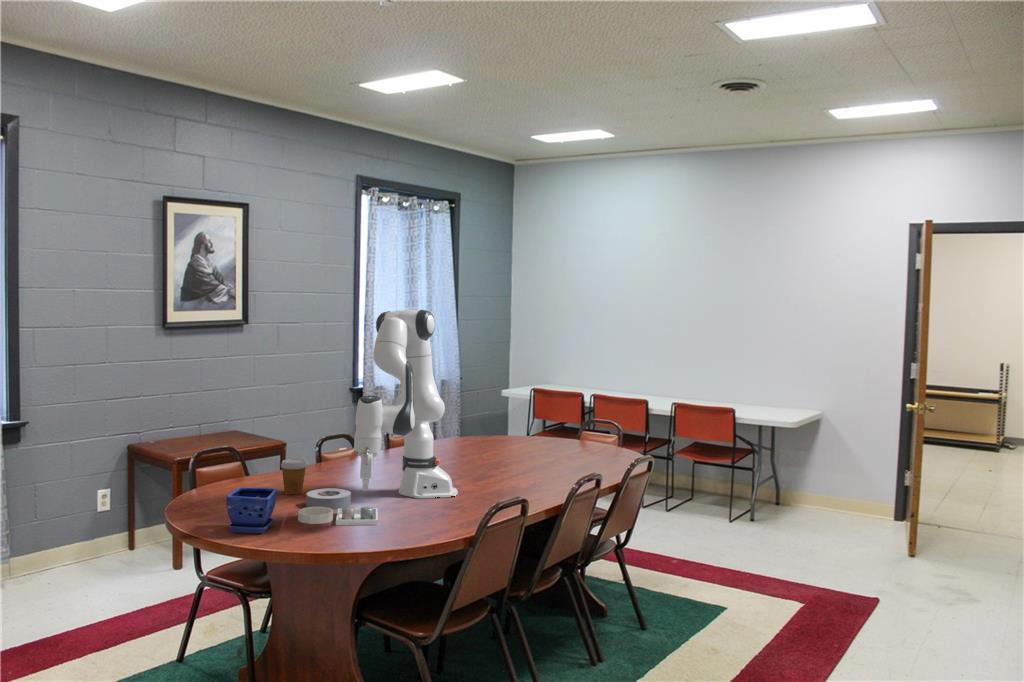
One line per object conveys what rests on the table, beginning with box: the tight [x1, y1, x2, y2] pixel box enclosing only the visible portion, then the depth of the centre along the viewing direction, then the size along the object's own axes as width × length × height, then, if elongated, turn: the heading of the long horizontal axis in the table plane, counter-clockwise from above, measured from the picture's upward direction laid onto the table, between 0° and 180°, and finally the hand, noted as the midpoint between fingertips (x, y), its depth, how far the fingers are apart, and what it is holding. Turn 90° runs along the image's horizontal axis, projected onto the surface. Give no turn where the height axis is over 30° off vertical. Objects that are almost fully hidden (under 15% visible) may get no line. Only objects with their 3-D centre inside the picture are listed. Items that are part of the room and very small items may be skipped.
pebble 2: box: [360, 506, 374, 520], centre depth 275 cm, size 4×4×4 cm
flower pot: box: [225, 486, 278, 534], centre depth 261 cm, size 13×13×12 cm
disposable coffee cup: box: [280, 458, 308, 495], centre depth 309 cm, size 10×10×12 cm
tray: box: [335, 507, 379, 526], centre depth 275 cm, size 13×15×2 cm
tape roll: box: [305, 487, 352, 511], centre depth 292 cm, size 15×15×5 cm
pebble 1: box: [342, 506, 356, 520], centre depth 274 cm, size 4×4×4 cm
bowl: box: [297, 506, 334, 525], centre depth 273 cm, size 11×11×4 cm
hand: (365, 487), depth 274 cm, fingers open, 8 cm apart
